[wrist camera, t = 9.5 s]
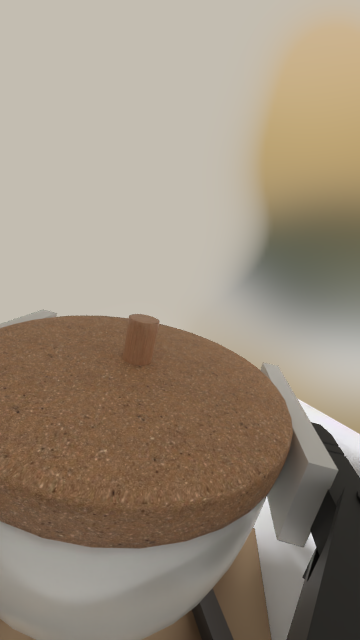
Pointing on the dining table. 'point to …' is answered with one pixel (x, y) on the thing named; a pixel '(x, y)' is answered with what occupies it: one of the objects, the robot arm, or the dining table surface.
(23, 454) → the lidded jar
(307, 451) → the robot arm
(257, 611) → the locating board
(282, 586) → the dining table surface
